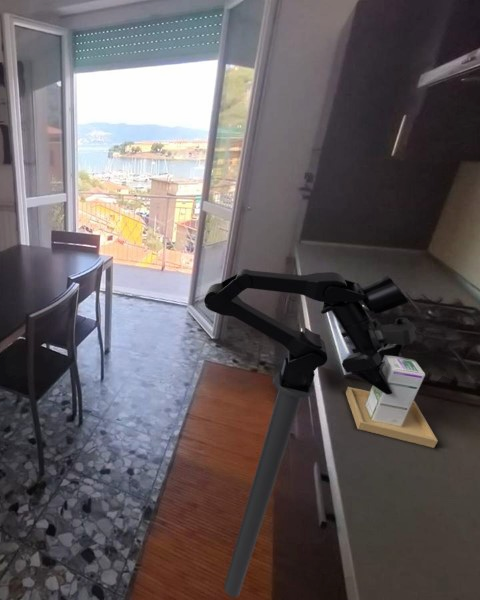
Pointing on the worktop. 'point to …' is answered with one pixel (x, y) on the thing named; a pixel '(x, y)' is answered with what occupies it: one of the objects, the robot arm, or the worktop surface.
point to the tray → (410, 430)
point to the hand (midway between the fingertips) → (397, 385)
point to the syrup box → (395, 391)
